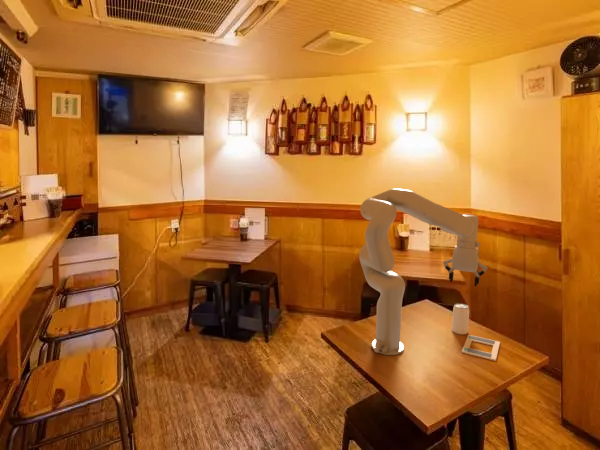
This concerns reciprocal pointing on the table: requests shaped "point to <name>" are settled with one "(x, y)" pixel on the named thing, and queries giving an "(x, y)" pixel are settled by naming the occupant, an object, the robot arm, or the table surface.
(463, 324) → the can
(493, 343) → the label board
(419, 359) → the table surface
